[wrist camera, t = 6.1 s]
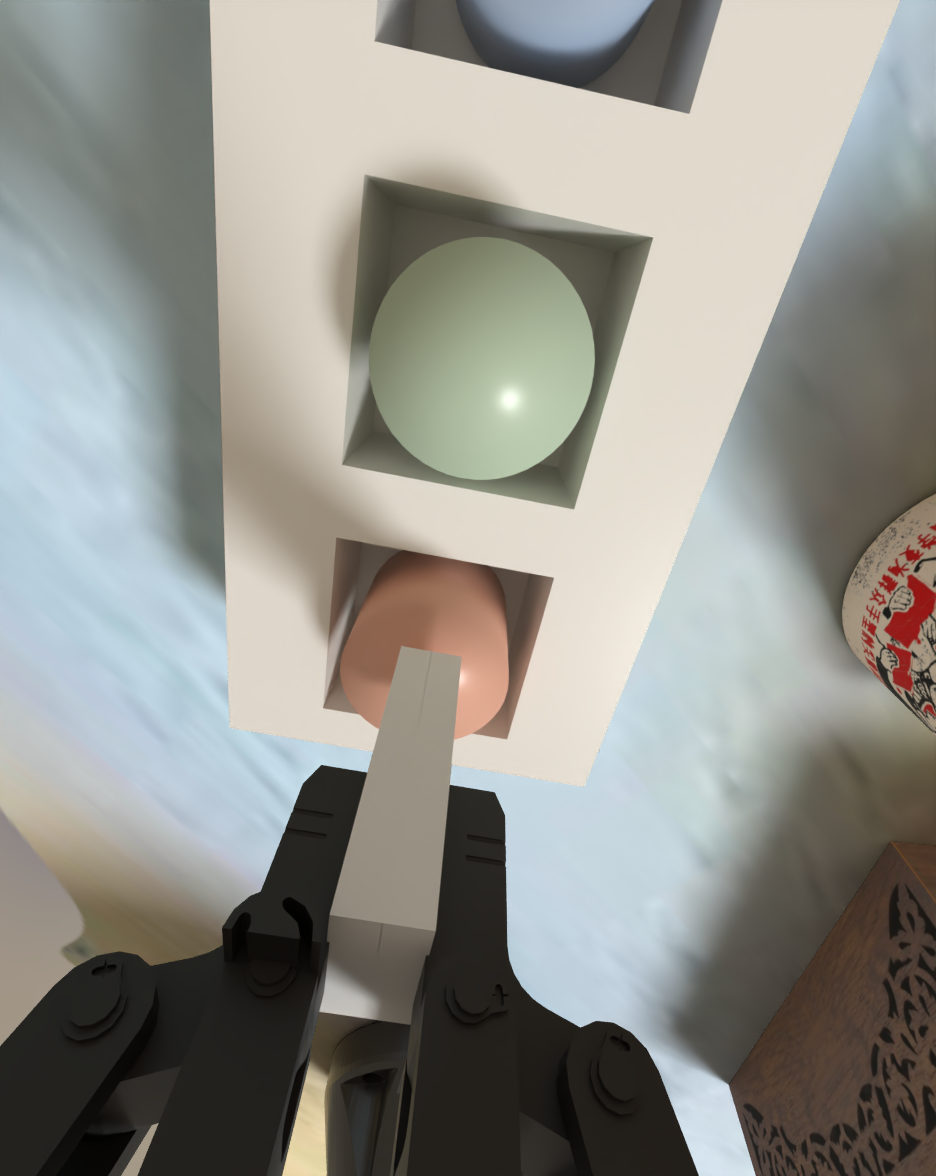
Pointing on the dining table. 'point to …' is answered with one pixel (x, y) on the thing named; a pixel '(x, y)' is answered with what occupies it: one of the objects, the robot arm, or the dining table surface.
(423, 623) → the button terracotta
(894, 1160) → the tissue box cover
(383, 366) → the button sage
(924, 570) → the teacup with lid
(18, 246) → the dining table surface
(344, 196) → the tray
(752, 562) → the dining table surface
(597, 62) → the button slate
